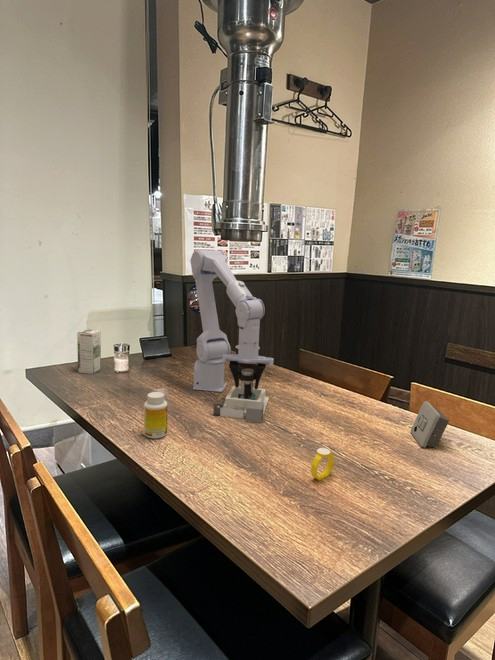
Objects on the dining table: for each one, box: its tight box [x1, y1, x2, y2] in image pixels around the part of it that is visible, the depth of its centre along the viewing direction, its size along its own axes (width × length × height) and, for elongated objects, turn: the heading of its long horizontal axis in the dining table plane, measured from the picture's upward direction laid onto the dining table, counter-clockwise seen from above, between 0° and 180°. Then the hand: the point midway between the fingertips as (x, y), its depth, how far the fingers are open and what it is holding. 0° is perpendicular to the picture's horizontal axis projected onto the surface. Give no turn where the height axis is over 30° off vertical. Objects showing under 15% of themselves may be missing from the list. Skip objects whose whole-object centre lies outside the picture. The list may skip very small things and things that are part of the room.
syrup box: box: [76, 328, 102, 375], centre depth 150 cm, size 6×6×14 cm
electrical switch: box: [410, 400, 450, 449], centre depth 108 cm, size 9×5×9 cm, turn 176°
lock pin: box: [212, 403, 246, 420], centre depth 119 cm, size 8×3×3 cm, turn 80°
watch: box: [310, 447, 335, 481], centre depth 89 cm, size 6×3×6 cm, turn 132°
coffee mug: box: [235, 344, 261, 372], centre depth 157 cm, size 12×9×10 cm
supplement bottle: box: [143, 391, 168, 439], centre depth 105 cm, size 6×6×10 cm
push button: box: [238, 368, 259, 400], centre depth 126 cm, size 7×5×10 cm
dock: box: [223, 385, 270, 424], centre depth 125 cm, size 12×19×4 cm, turn 171°
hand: (246, 387), depth 126 cm, fingers closed on push button, 5 cm apart
